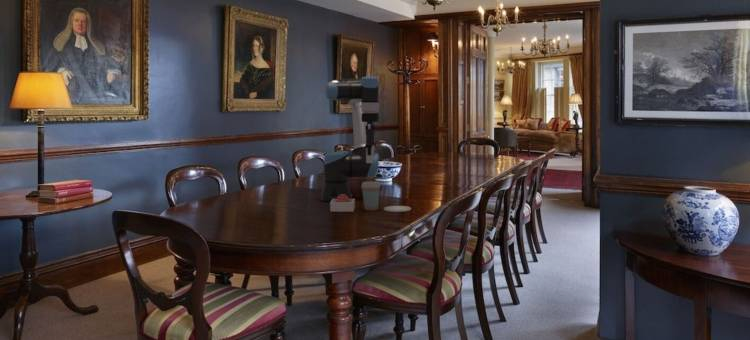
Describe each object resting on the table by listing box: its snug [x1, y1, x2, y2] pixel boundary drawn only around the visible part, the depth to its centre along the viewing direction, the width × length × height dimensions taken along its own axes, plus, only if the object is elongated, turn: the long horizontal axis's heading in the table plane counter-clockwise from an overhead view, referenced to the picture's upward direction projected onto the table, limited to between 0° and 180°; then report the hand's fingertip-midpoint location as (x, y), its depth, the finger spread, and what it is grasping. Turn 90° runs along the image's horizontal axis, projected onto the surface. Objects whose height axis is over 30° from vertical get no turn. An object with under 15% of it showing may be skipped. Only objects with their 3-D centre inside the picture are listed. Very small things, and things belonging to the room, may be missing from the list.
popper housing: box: [329, 198, 356, 213], centre depth 251 cm, size 10×10×4 cm
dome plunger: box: [334, 194, 352, 202], centre depth 251 cm, size 8×8×5 cm
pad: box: [383, 205, 412, 213], centre depth 251 cm, size 12×12×1 cm
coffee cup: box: [360, 180, 381, 211], centre depth 251 cm, size 8×8×12 cm
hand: (370, 161), depth 249 cm, fingers open, 13 cm apart
